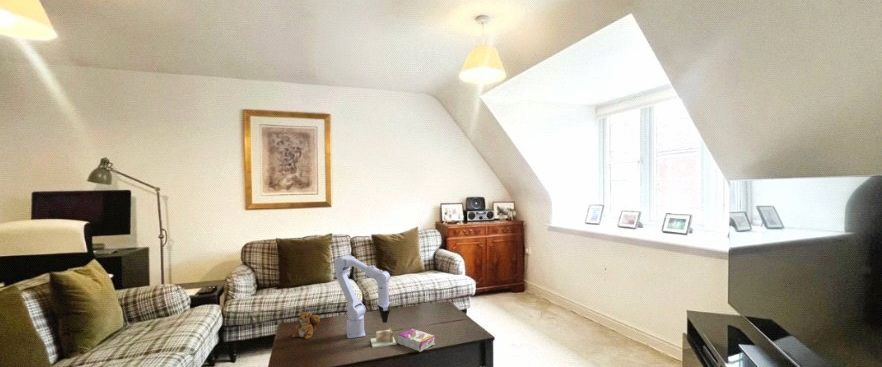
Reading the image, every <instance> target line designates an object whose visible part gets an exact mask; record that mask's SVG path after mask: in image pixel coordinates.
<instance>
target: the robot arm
mask: <svg viewBox="0 0 882 367" xmlns="http://www.w3.org/2000/svg"><path fill="white" fill-rule="evenodd" d="M333 266H334V268H335V270H334V271H335V272H334V273H335V277H336V280H337V281H338V283H339V286H340V289H341V291H342V292H343V296H344V297H345V300H346V303H347V306H346V311H347V317H348V319H346V333H345V334H346V336H347V339H354V338H361V337H366V331H365V318H364V317H365V314H366V313H367V308H366V306H365V305H364V304H363V302H362V301H361V300H359V299H358V297H357V295H356V292H355V290H354V289H353V288H354V287H353V286H352V283H351V281H350V278H349V277H348V274H347V273H348V270H349V268H351V267H354V268H355V269H358V270H361V271H362V272H364V273H365V276H367V277H369V278H371V279H373V280H375V283H376V284H377V307H378V310H379V314H380V318H381V320H382V323H384V324H385V323H388V317H389V314H390V312H391V309H390V308H388V307H389V306H390V305H391V304H392V301H390V288H389V286H390V285H389V284H390V283H389V281H390V280H391V274H390V273H389V271H387V270H382V269H379V268H377V267H376V266H375V265H367V264H365V263H363V262H362V261H361V260H359V259H357V258H356V257H355V256H353V255H351V254H346V255H342V256H340V257H336V258H335V260H334V263H333Z"/></svg>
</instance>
